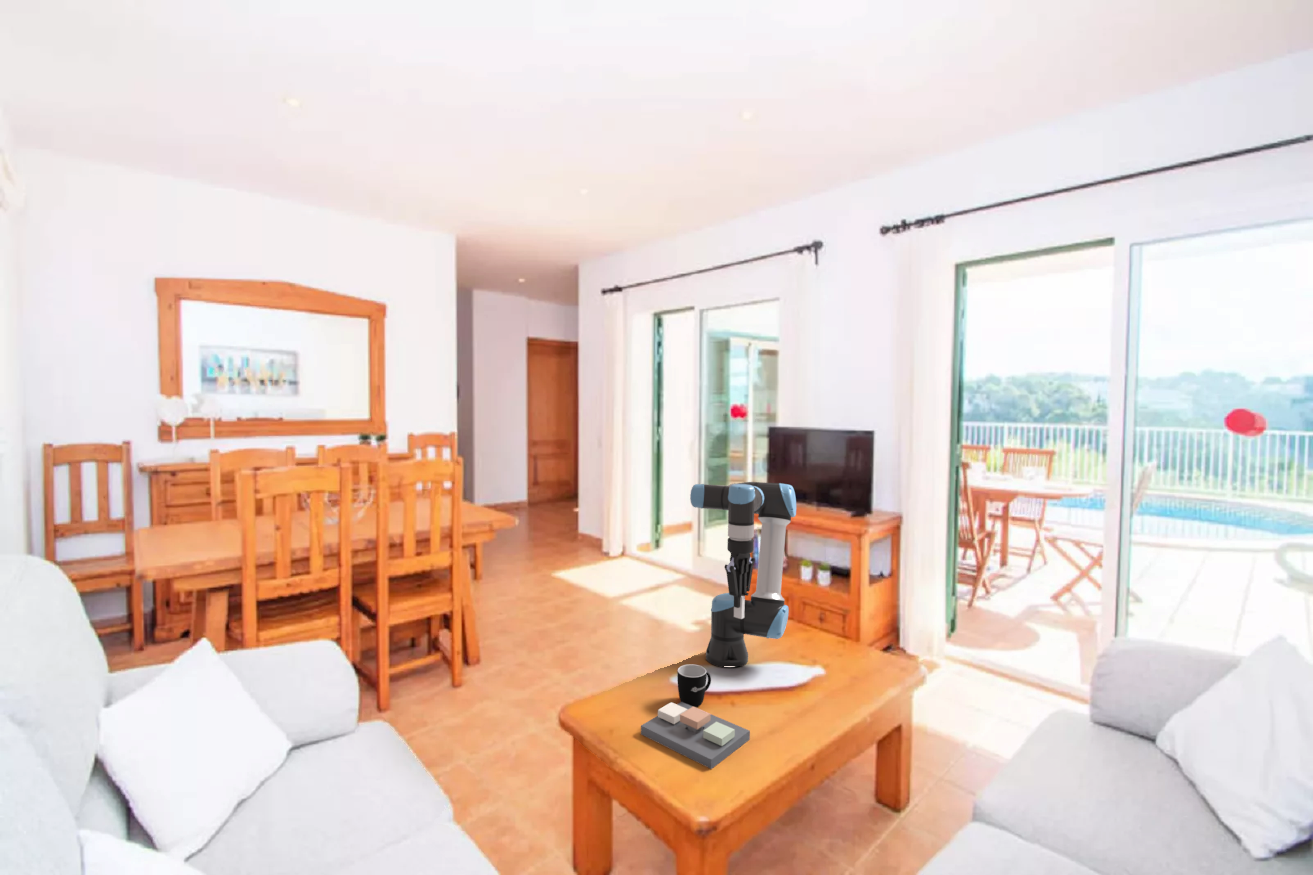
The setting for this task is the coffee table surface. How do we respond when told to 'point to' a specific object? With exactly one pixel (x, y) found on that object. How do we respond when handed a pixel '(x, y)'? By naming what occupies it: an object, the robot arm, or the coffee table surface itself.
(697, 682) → the mug
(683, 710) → the key ivory
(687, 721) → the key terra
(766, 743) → the coffee table surface
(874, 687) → the coffee table surface
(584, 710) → the coffee table surface
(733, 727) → the keypad base
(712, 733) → the key sage
